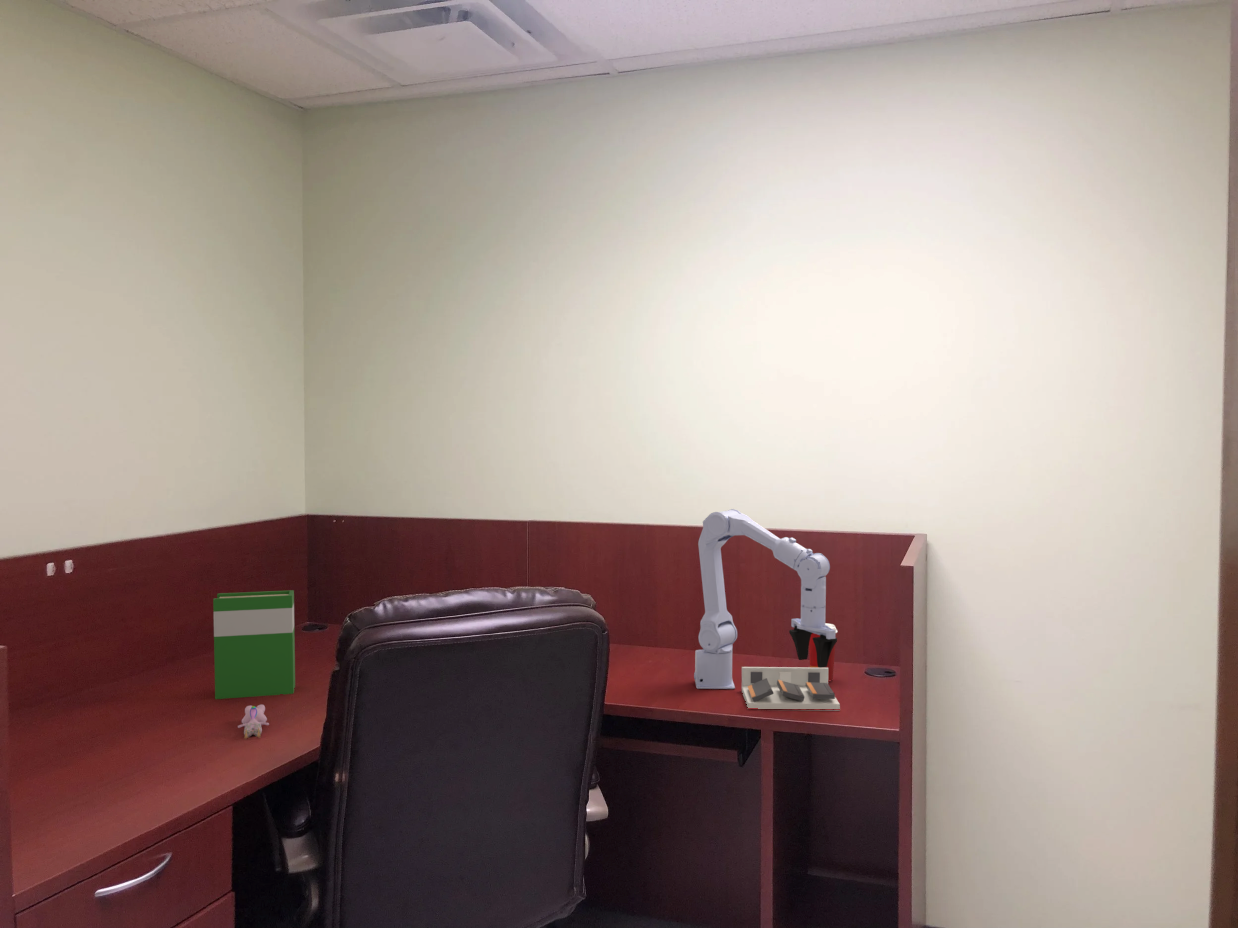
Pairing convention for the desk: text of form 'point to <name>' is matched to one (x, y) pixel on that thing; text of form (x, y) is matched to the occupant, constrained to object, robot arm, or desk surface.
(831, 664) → the paper cup
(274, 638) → the hardback book
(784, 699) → the switch unit
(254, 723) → the pink and white figure
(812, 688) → the switch
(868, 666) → the desk surface
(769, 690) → the switch
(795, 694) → the switch
